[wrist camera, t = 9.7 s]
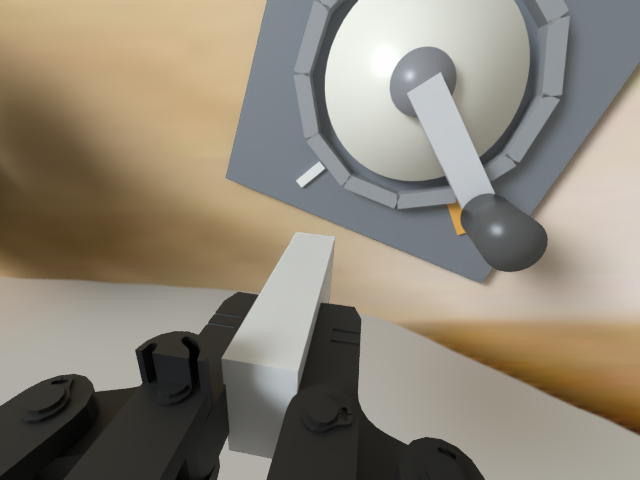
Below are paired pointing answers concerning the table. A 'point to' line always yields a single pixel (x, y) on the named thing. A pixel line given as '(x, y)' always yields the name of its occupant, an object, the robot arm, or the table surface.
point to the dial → (437, 105)
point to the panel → (436, 194)
